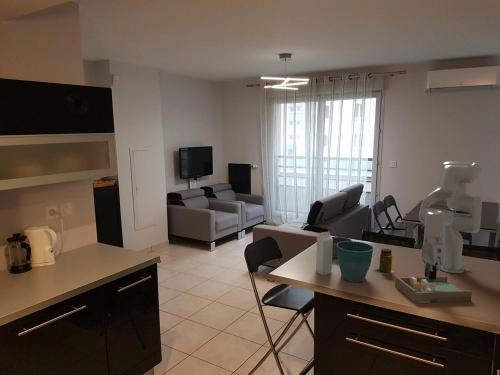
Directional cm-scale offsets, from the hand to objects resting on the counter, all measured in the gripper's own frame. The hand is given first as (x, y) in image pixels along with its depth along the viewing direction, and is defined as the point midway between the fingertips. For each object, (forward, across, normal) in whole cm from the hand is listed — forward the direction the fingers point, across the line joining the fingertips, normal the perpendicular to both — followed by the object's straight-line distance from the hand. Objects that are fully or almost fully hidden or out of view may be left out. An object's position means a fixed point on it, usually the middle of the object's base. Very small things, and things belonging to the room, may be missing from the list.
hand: (430, 277), depth 166 cm
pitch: (+8, 0, -1) cm, 8 cm away
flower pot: (+8, +22, +28) cm, 36 cm away
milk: (+8, +31, +40) cm, 51 cm away
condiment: (+8, +29, +8) cm, 31 cm away
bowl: (+8, +57, +23) cm, 62 cm away
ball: (+4, 0, +6) cm, 7 cm away
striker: (+5, 0, -2) cm, 6 cm away
